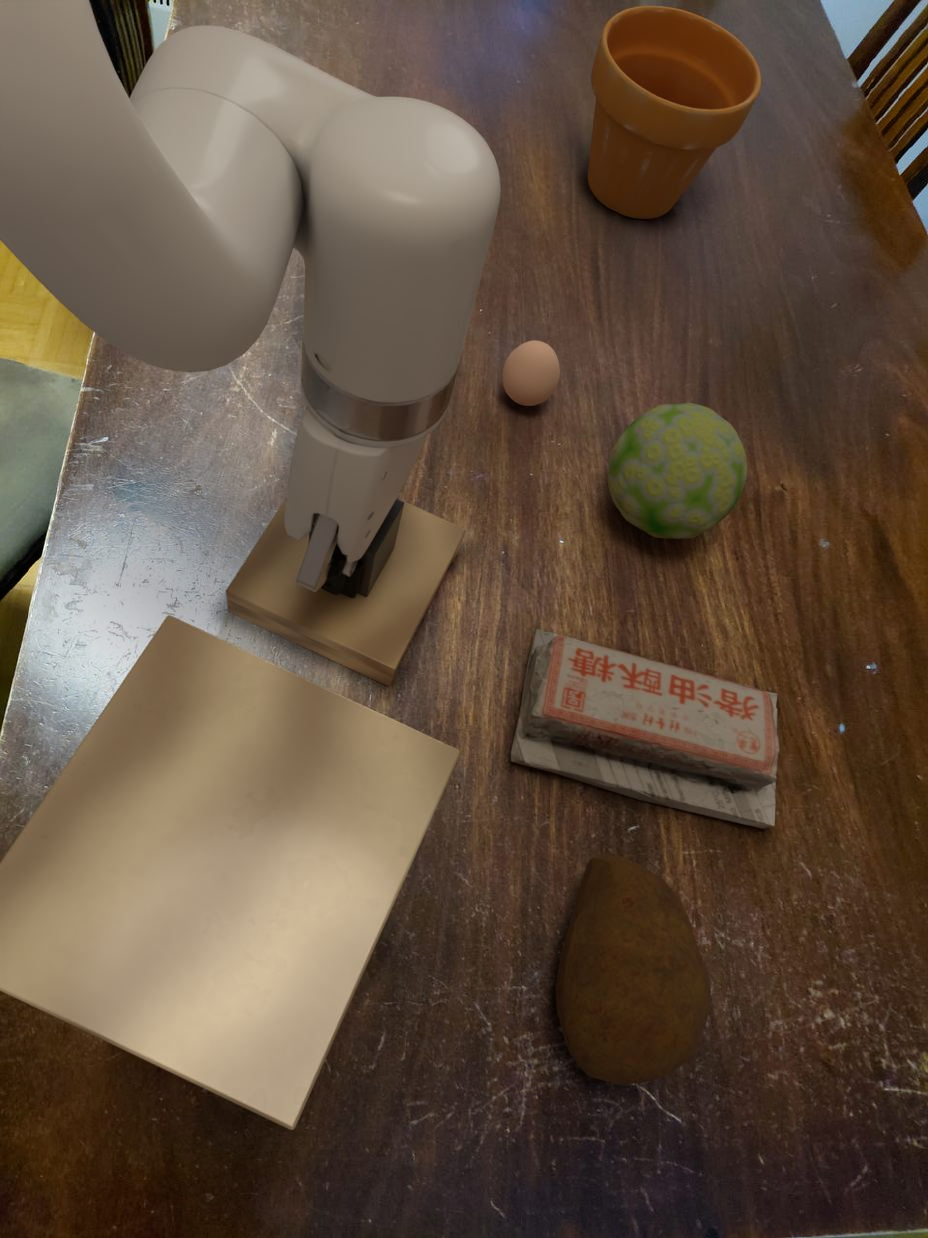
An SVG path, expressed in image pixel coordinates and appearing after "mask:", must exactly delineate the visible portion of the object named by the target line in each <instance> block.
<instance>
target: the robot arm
mask: <svg viewBox="0 0 928 1238" xmlns="http://www.w3.org/2000/svg"><path fill="white" fill-rule="evenodd" d="M501 188H502V186H501V175H500V171H499V166H498V163H497V161H496V158H495V155H494V153H493V152H492V150H491V147H490V146H489V145H488V143H487V141H486V139H485V138H484V137H483V136H482V135H481V134H480V133H479V131H478V130H477V129H476V128H475V127H473V126H472V125H471V124H469V123H468V122H467V121H466V120H464V119H463V117H460V116H459V115H458V114H456V113H454V112H453V111H451V110H449V109H447V108H444V107H442V106H440V105H438V104H435V103H432V102H430V101H427V100H422V99H418V98H414V97H406V96H375V95H373V94H371V93H368V92H367V91H364V90H362V89H360V88H358V87H356V86H354V85H351V84H349V83H347V82H345V81H344V80H341V79H339V78H338V77H335V76H334V75H331V74H329V73H327V72H326V71H324V70H322V69H320V68H318V67H317V66H314V65H312V64H310V63H308V62H306V61H305V60H302V59H301V58H299V57H297V56H295V55H293V54H291V53H290V52H288V51H286V50H283V49H282V48H280V47H278V46H276V45H275V44H272V43H270V42H269V41H268V42H267V41H265V40H263V39H261V38H259V37H257V36H254V35H251V34H248V33H247V32H243V31H241V30H238V29H234V28H229V27H226V26H225V27H224V26H220V25H210V24H209V25H208V24H201V25H194V26H193V25H192V26H189V27H185V28H182V29H179V30H178V31H176V32H174V33H172V34H171V35H169V36H168V37H167V38H166V39H164V40H163V41H162V42H161V43H160V44H158V46H157V47H156V48H155V50H154V51H153V52H152V54H151V56H150V57H149V58H148V60H147V62H146V63H145V66H144V67H143V70H142V72H141V73H140V75H139V77H138V79H137V82H136V84H135V86H134V88H133V90H132V91H131V94H130V96H129V95H128V93H127V91H126V88H125V87H124V86H123V83H122V82H121V80H120V78H119V75H118V74H117V71H116V70H115V67H114V64H113V62H112V59H111V57H110V55H109V52H108V50H107V47H106V45H105V43H104V41H103V37H102V35H101V33H100V30H99V27H98V25H97V21H96V18H95V15H94V12H93V8H92V5H91V2H90V0H0V241H1V243H3V245H4V246H5V247H6V248H7V249H8V250H9V251H10V252H11V254H13V256H14V257H15V258H16V259H17V260H18V261H19V262H20V263H21V264H22V265H23V266H24V267H25V268H26V269H27V270H28V271H29V273H30V274H31V275H32V276H33V277H34V278H35V279H36V280H37V281H38V282H39V283H40V284H41V285H42V286H43V287H44V288H45V289H46V290H47V291H48V292H49V293H50V294H51V295H52V296H53V297H54V298H55V299H56V301H58V302H59V303H60V304H61V305H62V306H64V308H65V309H67V310H68V311H69V312H70V313H71V314H72V315H73V316H75V318H77V319H78V320H79V321H80V322H81V323H83V324H84V326H86V327H87V328H89V329H90V330H91V331H92V332H94V333H95V334H96V335H97V336H99V338H101V339H103V340H104V341H106V342H107V343H109V344H110V345H111V346H113V347H115V348H117V349H118V350H119V351H121V352H123V353H124V354H126V355H128V356H130V357H132V358H134V359H137V360H139V361H141V362H143V363H145V364H148V365H150V366H153V367H156V368H160V369H164V370H167V371H172V372H181V373H199V372H200V373H201V372H209V371H212V370H216V369H219V368H221V367H225V366H228V365H229V364H231V363H233V362H234V361H235V360H237V359H239V358H240V357H242V356H243V355H245V354H246V353H247V352H248V351H249V350H250V348H252V347H253V345H254V344H255V343H256V342H257V340H258V339H260V337H261V335H262V333H263V331H264V330H265V328H266V326H268V322H269V320H270V317H271V314H272V312H273V310H274V307H275V304H276V302H277V299H278V296H279V294H280V290H281V287H282V284H283V281H284V279H285V275H286V273H287V269H288V266H289V262H290V259H291V256H292V252H293V250H294V249H295V250H296V251H297V252H298V253H299V254H300V256H301V257H302V259H303V264H304V292H303V293H304V295H303V298H304V299H303V318H302V319H303V321H302V340H301V361H300V362H301V364H300V365H301V366H300V369H301V370H300V388H301V396H302V398H303V400H304V403H305V405H306V406H305V408H304V410H303V414H302V416H301V419H300V423H299V426H298V429H297V432H296V437H295V441H294V445H293V448H292V449H293V450H292V453H291V454H292V455H291V459H290V465H289V473H288V474H289V475H288V480H287V488H286V496H285V499H286V507H285V522H284V523H285V530H286V533H287V534H288V535H289V536H291V537H293V538H295V539H296V540H298V541H300V540H301V539H302V538H304V537H305V536H306V535H307V534H308V533H309V532H310V531H311V530H312V529H313V524H314V525H315V527H314V530H313V533H312V536H311V539H310V542H309V545H308V548H307V550H306V553H305V556H304V559H303V562H302V565H301V568H300V571H299V574H298V577H297V580H296V583H297V584H299V585H301V586H303V587H305V588H307V589H310V590H312V591H314V592H317V591H318V589H319V588H322V589H323V590H325V591H327V592H329V593H331V594H334V595H339V594H340V593H341V594H343V595H345V596H347V597H350V598H355V596H356V594H357V593H358V590H359V584H360V579H361V573H362V567H363V563H361V561H360V560H359V559H360V558H361V557H362V556H363V555H364V553H365V552H366V550H367V548H368V547H369V545H370V543H371V542H372V540H373V538H374V537H375V535H376V533H377V532H378V530H379V528H380V526H381V525H382V523H383V521H384V519H385V518H386V516H387V514H388V513H389V511H390V509H391V507H392V506H393V504H394V502H395V500H396V499H397V498H398V496H399V495H400V493H401V492H402V490H403V488H404V486H405V484H406V482H407V480H408V479H409V477H410V475H411V473H412V471H413V469H414V468H415V465H416V464H417V462H418V460H419V458H420V456H421V453H422V451H423V448H424V445H425V442H426V439H427V437H428V435H430V434H432V432H434V431H435V430H436V429H437V428H438V427H439V426H440V424H441V423H442V422H443V420H444V419H445V416H446V415H447V412H448V408H449V405H450V400H451V398H452V394H453V391H454V390H453V389H454V386H455V382H456V377H457V374H458V371H459V366H460V363H461V359H462V354H463V350H464V346H465V342H466V340H467V339H466V338H467V334H468V331H469V326H470V323H471V319H472V315H473V311H474V307H475V303H476V299H477V297H478V292H479V287H480V284H481V280H482V277H483V273H484V268H485V264H486V260H487V257H488V253H489V249H490V245H491V241H492V237H493V235H494V234H493V233H494V230H495V226H496V222H497V217H498V213H499V208H500V202H501V197H502V194H501V193H502V191H501ZM336 543H337V544H338V546H339V547H337V546H336Z"/></svg>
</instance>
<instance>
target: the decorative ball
mask: <svg viewBox="0 0 928 1238" xmlns="http://www.w3.org/2000/svg"><path fill="white" fill-rule="evenodd" d="M609 454H610V455H609V458H608V471H607V484H608V489H609V493H610V496H611V499H612V502H613V504H614V505H615V507H616V509H617V510H618V511H619V512H620V514H621V516H622V517H623V518H624V519H625V521H627V522H628V523H630V524H631V525H633V526H634V527H636V528H637V529H640V530H641V531H643V532H644V533H646V534H648V535H650V536H651V537H653V538H658V539H674V540H675V539H678V540H681V539H683V540H684V539H693V538H695V537H698V536H700V535H702V534H704V533H706V532H708V531H710V530H711V529H713V528H714V527H716V526H717V525H719V524H720V523H721V522H722V521H723V520H724V519H725V518H726V517H727V516H728V515H729V514H730V513H731V511H732V510H733V509H734V508H735V506H736V504H737V503H738V501H739V498H740V497H741V494H742V492H743V490H744V487H745V483H746V482H747V477H748V464H747V463H748V462H747V455H746V451H745V448H744V444H743V442H742V440H741V439H740V436H739V434H738V432H737V431H736V429H735V428H734V426H733V425H732V424H731V423H730V422H729V421H727V420H726V419H724V418H723V417H722V416H720V415H719V413H717V412H716V411H715V410H713V409H712V408H709V407H707V406H704V405H702V404H696V403H695V402H684V403H667V404H665V403H664V404H659V405H657V406H655V407H653V408H651V409H649V410H648V411H646V412H644V413H642V414H641V415H640V416H638V417H637V418H636V419H635V420H633V421H632V423H630V424H629V425H628V426H627V427H626V428H625V429H624V431H623V432H622V433H621V434H620V436H619V437H618V438H617V440H616V442H615V444H614V446H613V448H612V450H611V451H610V453H609Z"/></svg>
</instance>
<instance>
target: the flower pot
mask: <svg viewBox="0 0 928 1238" xmlns="http://www.w3.org/2000/svg"><path fill="white" fill-rule="evenodd" d="M590 84H591V88H592V93H593V95H594V97H595V105H594V112H593V122H592V130H591V139H590V147H589V148H590V149H589V158H588V168H587V183H588V186H589V189H590V191H591V193H592V194H593V195H594V197H595V198H596V199H597V200H598V201H599V202H600V203H601V204H602V205H603V206H605V207H606V208H607V209H610V210H611V211H614V212H616V213H618V214H620V215H621V216H625V217H628V218H632V219H639V220H652V219H655V218H659V217H662V216H664V215H665V214H668V212H669V211H671V209H672V208H673V207H674V206H675V205H676V203H677V202H678V200H679V199H680V198H681V196H682V195H683V194H684V192H685V191H686V190H687V188H688V187H689V186H690V185H691V184H692V182H693V181H694V179H695V178H696V177H697V175H698V174H699V173H700V171H701V170H702V169H703V167H704V166H705V165H706V163H707V162H708V160H709V159H710V158H711V156H712V155H713V154H714V153H715V151H716V149H717V148H720V147H721V146H724V145H725V144H727V143H729V142H730V141H731V140H733V138H735V136H736V135H737V134H738V132H739V131H740V130H741V128H742V127H743V125H744V123H745V121H746V119H747V117H748V115H749V113H750V111H751V110H752V108H753V105H754V103H755V102H756V100H757V98H758V95H759V93H760V91H761V87H762V74H761V70H760V67H759V65H758V63H757V61H756V59H755V57H754V56H753V54H752V53H751V51H750V50H749V49H748V48H747V47H746V45H745V44H743V42H741V41H740V39H738V38H737V37H736V36H734V35H733V34H732V33H731V32H729V31H728V30H727V29H726V28H723V26H721V25H719V24H717V23H716V22H714V21H712V20H710V19H708V18H705V17H703V16H701V15H698V14H696V13H694V12H690V11H687V10H684V9H680V8H677V7H669V6H662V5H639V6H634V7H630V8H626V9H623V10H622V11H619V12H618V13H616V14H615V15H613V16H612V17H611V18H610V19H609V20H608V21H607V22H606V23H605V25H604V28H603V30H602V33H601V36H600V39H599V44H598V47H597V50H596V53H595V57H594V61H593V64H592V69H591V74H590Z"/></svg>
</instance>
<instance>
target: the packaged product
mask: <svg viewBox="0 0 928 1238" xmlns="http://www.w3.org/2000/svg"><path fill="white" fill-rule="evenodd" d="M529 651H530V652H529V656H528V660H527V666H526V670H525V673H524V681H523V689H522V697H521V703H520V704H521V705H520V709H519V713H518V717H517V722H516V727H515V732H514V735H513V741H512V745H511V750H510V762H511V763H515V764H518V765H521V766H527V767H529V768H533V769H538V770H541V771H546V772H550V773H553V774H555V775H559V776H563V777H566V778H569V779H572V780H574V781H578V782H580V783H581V782H582V783H585V784H587V785H590V786H594V787H596V788H600V789H603V790H607V791H610V792H613V793H616V794H619V795H622V796H626V797H629V798H632V799H636V800H639V801H644V802H648V803H652V804H655V805H660V806H664V807H667V808H668V807H669V808H673V809H677V810H682V811H685V812H690V813H694V814H699V815H704V816H706V817H712V818H715V819H719V820H724V821H728V822H732V823H737V824H741V825H744V826H748V827H755V828H758V829H768V828H769V829H770V828H773V827H775V826H776V824H775V822H776V790H777V789H776V788H777V784H776V783H777V780H778V777H777V771H778V760H779V754H780V751H781V749H780V745H779V744H780V743H779V737H778V735H777V733H778V731H777V730H778V708H777V700H778V693H775V692H770V691H766V690H764V689H759V688H757V687H754V686H752V685H749V684H745V683H740V682H736V681H732V680H729V679H725V678H721V677H718V676H715V675H710V674H707V673H703V672H700V671H696V670H693V669H689V668H685V667H682V666H679V665H672V664H669V663H666V662H663V661H659V660H655V659H651V658H648V657H644V656H642V655H641V656H640V655H638V654H635V653H631V652H626V651H624V650H623V651H622V650H619V649H616V648H611V647H608V646H604V645H601V644H597V643H594V642H591V641H585V640H583V639H579V638H576V637H572V636H568V635H565V634H558V633H555V632H551V631H547V630H543V629H540V628H536V629H534V633H533V638H532V643H531V647H530V650H529Z"/></svg>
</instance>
